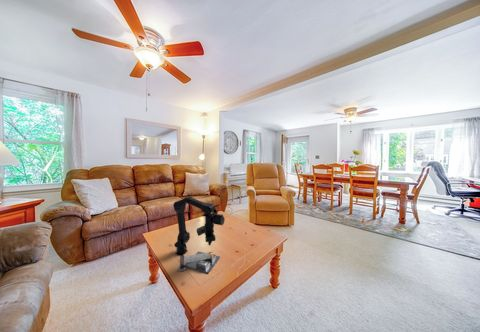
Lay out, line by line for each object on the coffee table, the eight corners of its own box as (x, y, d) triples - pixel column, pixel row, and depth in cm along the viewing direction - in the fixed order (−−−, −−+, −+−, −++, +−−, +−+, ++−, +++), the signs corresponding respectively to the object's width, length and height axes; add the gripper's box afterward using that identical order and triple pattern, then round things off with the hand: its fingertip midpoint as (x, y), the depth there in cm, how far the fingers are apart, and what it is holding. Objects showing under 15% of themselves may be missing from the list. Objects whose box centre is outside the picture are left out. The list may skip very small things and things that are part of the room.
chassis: (184, 266, 101) (184, 262, 101) (198, 252, 116) (198, 248, 116) (208, 273, 95) (208, 268, 95) (220, 257, 110) (220, 253, 110)
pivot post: (176, 270, 98) (176, 257, 97) (181, 265, 102) (181, 253, 102) (182, 272, 96) (182, 259, 95) (187, 267, 101) (187, 254, 100)
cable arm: (185, 262, 98) (185, 258, 98) (185, 260, 101) (185, 255, 100) (213, 258, 103) (213, 253, 103) (212, 256, 105) (212, 251, 105)
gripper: (197, 218, 113) (197, 239, 114) (197, 230, 95) (197, 254, 96) (212, 217, 116) (212, 237, 117) (215, 228, 98) (215, 251, 99)
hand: (209, 244), depth 107 cm, fingers closed
